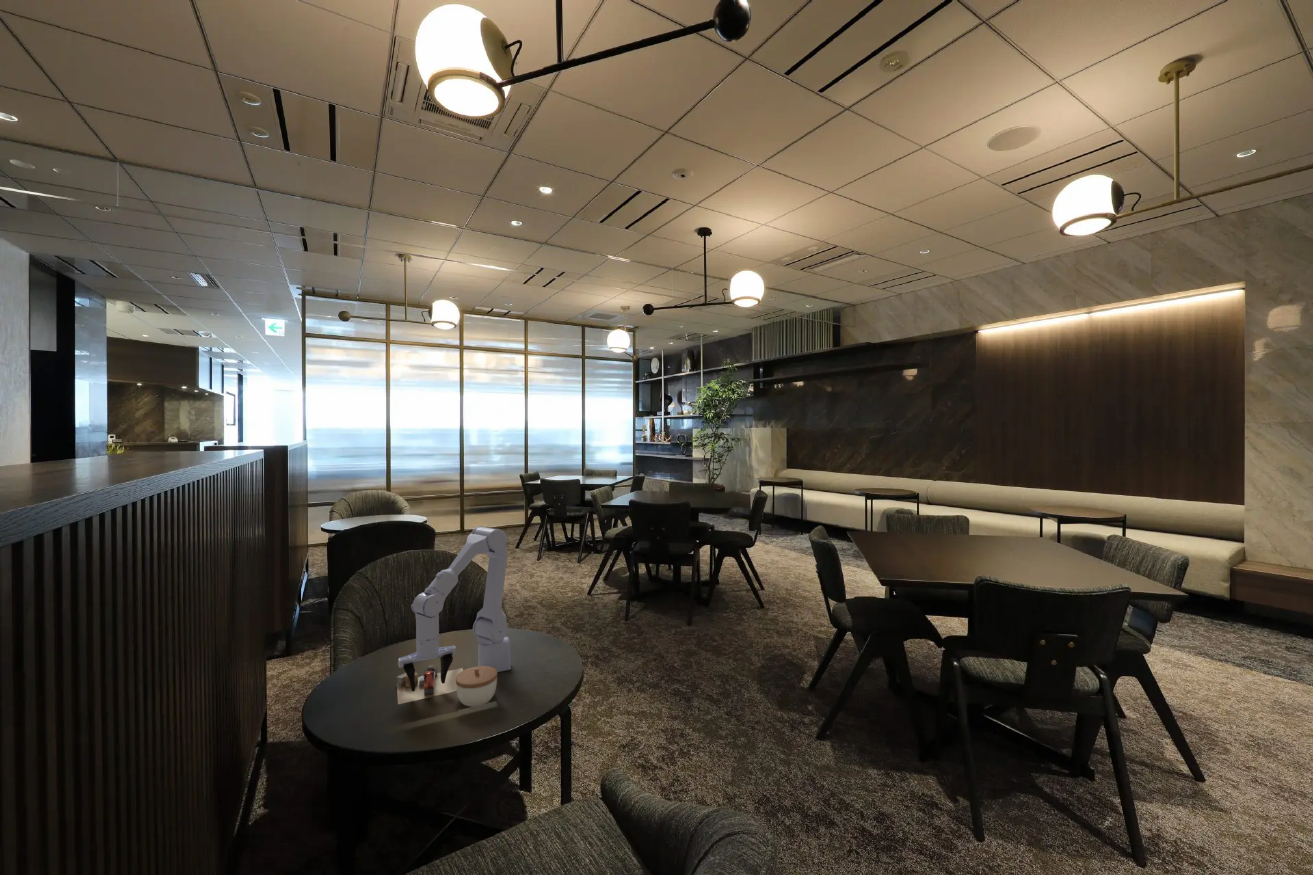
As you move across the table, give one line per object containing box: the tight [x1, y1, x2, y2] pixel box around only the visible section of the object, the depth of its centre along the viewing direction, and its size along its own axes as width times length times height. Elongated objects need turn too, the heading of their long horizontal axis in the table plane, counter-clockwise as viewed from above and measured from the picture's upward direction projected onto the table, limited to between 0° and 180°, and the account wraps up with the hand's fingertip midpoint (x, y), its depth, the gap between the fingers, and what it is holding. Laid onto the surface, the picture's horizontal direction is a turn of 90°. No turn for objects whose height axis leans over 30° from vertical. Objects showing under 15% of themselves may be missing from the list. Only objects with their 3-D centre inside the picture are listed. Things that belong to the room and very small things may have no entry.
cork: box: [406, 672, 419, 688], centre depth 145 cm, size 3×3×3 cm
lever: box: [419, 666, 438, 695], centre depth 146 cm, size 5×14×6 cm, turn 22°
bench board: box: [396, 664, 464, 706], centre depth 146 cm, size 18×14×4 cm
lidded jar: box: [456, 665, 498, 710], centre depth 138 cm, size 11×11×9 cm
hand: (428, 685), depth 141 cm, fingers open, 7 cm apart
